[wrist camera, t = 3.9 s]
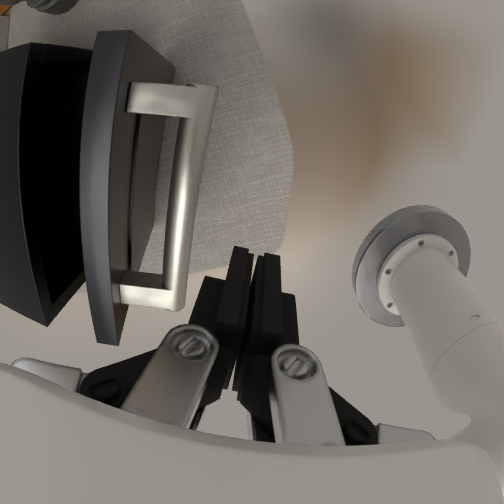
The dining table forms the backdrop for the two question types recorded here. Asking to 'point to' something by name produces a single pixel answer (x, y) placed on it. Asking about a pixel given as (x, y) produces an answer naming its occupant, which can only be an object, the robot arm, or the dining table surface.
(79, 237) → the oven
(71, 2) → the candle holder
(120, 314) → the oven door
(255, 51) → the dining table surface
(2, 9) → the bread
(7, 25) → the picture frame
